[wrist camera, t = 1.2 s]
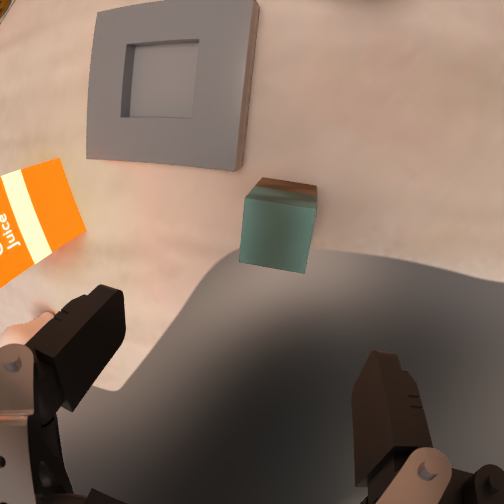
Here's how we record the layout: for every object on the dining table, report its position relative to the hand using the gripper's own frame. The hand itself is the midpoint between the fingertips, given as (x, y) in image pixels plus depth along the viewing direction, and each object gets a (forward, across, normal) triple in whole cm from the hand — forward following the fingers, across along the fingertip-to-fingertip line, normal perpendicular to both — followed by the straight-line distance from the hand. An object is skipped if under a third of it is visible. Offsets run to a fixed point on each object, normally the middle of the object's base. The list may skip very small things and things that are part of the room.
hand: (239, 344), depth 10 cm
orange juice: (+20, +25, +6) cm, 33 cm away
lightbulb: (+20, +28, +23) cm, 42 cm away
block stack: (+19, 0, +1) cm, 19 cm away
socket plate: (+19, +11, -8) cm, 24 cm away
